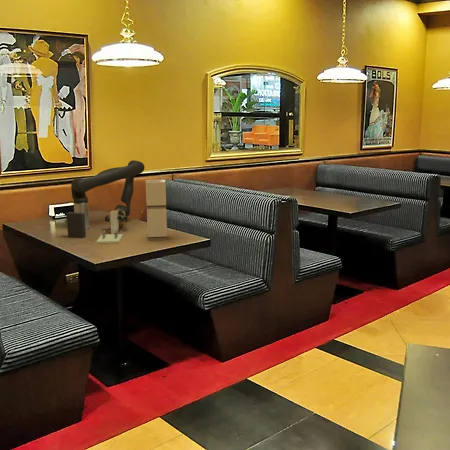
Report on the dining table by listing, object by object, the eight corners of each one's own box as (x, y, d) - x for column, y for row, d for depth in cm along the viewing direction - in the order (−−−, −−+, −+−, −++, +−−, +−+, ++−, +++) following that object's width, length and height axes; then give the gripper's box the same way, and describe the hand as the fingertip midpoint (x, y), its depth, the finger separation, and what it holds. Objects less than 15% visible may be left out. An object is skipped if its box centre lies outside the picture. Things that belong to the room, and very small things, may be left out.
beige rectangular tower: (166, 235, 341) (164, 179, 333) (167, 239, 330) (165, 182, 323) (147, 236, 339) (145, 180, 332) (147, 240, 329) (146, 182, 321)
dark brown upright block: (86, 236, 339) (85, 212, 336) (82, 238, 335) (81, 214, 332) (71, 235, 343) (69, 211, 340) (67, 236, 339) (65, 212, 336)
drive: (111, 234, 346) (110, 212, 343) (112, 231, 351) (111, 210, 348) (117, 234, 346) (116, 212, 343) (119, 231, 352) (118, 210, 349)
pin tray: (96, 243, 322) (96, 234, 321) (102, 236, 340) (101, 228, 338) (118, 243, 322) (118, 234, 321) (123, 236, 340) (122, 227, 339)
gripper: (107, 209, 362) (103, 214, 346) (129, 209, 363) (125, 214, 347) (108, 221, 364) (103, 226, 348) (129, 220, 364) (126, 226, 348)
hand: (114, 220), depth 347 cm, fingers open, 8 cm apart
